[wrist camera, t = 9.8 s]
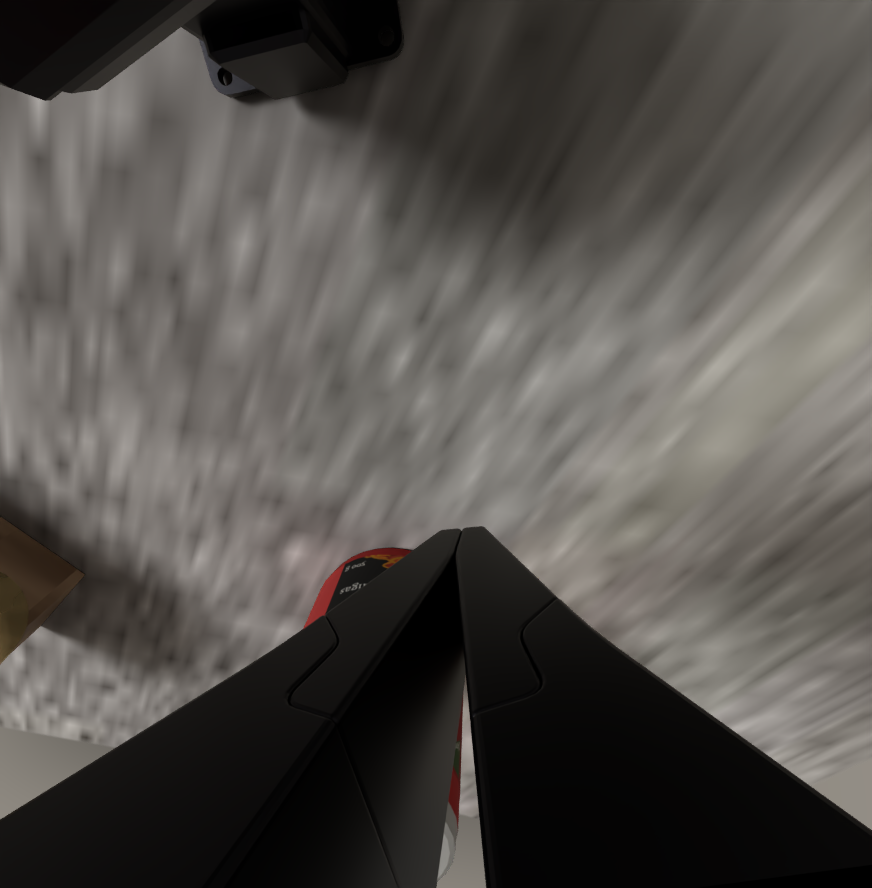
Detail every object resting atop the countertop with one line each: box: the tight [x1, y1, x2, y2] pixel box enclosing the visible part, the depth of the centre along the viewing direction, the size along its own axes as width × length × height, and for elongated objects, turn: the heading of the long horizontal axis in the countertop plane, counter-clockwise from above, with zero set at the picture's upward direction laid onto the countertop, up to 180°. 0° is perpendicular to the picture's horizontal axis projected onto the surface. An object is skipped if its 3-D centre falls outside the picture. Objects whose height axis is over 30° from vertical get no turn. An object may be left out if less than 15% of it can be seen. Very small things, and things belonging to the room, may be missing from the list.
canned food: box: [303, 548, 463, 881], centre depth 20 cm, size 8×8×11 cm
